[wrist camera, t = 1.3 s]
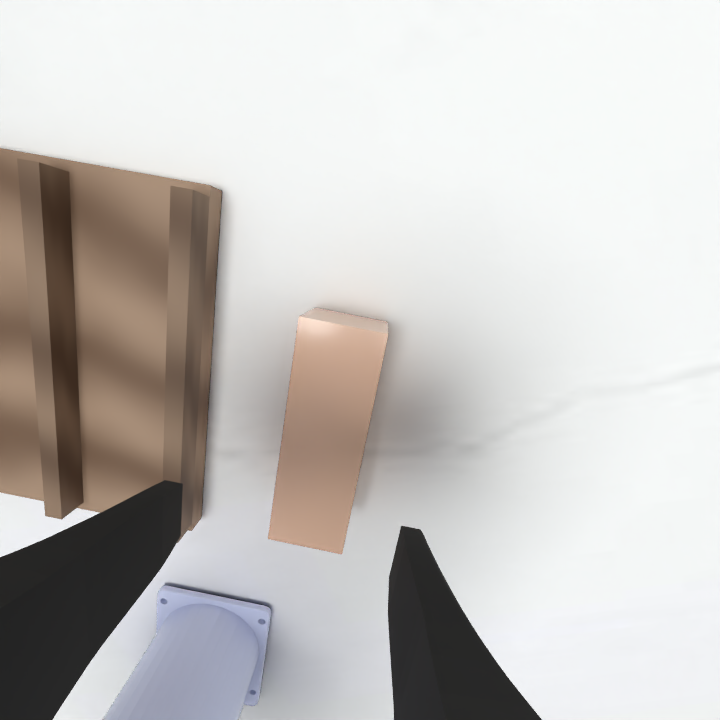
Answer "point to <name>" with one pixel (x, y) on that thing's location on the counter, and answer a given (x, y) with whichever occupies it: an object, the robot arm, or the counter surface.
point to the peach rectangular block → (326, 426)
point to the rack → (104, 332)
